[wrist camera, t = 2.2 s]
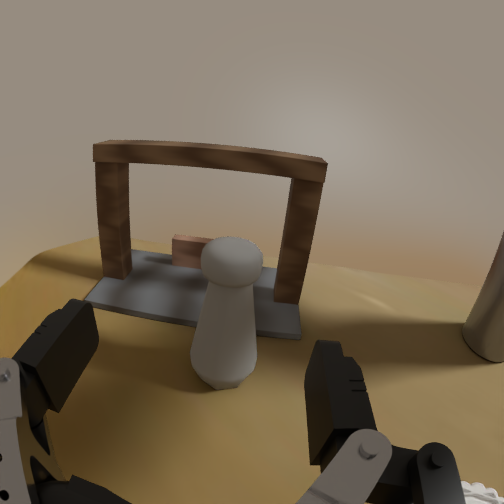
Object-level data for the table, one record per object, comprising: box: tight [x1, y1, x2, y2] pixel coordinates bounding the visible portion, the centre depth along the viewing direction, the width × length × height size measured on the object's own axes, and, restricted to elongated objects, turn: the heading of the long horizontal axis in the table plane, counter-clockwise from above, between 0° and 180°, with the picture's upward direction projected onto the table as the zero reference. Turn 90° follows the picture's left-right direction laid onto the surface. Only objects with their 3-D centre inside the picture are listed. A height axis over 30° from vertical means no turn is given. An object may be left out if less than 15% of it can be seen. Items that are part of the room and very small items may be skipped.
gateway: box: [84, 140, 328, 340], centre depth 34 cm, size 25×14×18 cm, turn 86°
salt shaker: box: [190, 237, 263, 390], centre depth 24 cm, size 6×6×13 cm
